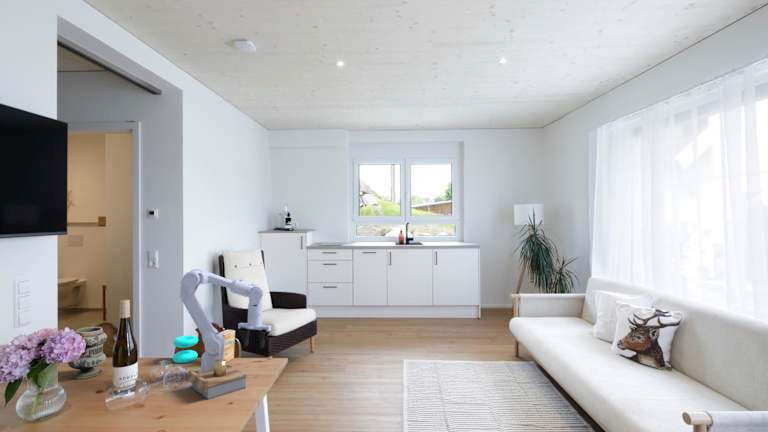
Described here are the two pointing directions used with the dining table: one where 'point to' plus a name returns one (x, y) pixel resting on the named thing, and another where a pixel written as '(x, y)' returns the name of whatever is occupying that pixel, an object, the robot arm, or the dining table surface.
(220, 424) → the dining table surface
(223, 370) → the cylinder
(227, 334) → the supplement box
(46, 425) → the dining table surface
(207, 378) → the box lid
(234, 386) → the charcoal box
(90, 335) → the apothecary jar
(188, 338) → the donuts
